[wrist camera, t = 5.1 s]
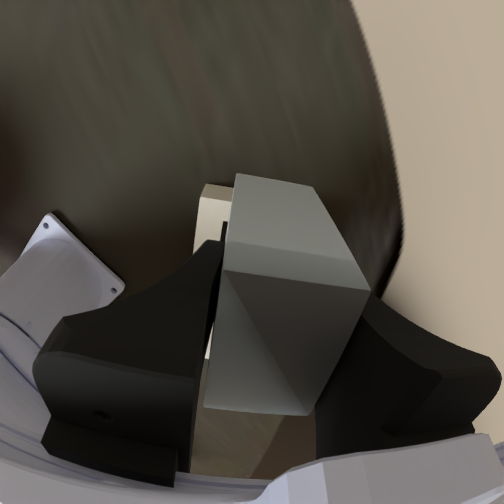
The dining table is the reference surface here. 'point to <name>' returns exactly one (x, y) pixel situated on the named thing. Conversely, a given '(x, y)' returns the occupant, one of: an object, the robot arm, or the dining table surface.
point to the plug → (280, 301)
